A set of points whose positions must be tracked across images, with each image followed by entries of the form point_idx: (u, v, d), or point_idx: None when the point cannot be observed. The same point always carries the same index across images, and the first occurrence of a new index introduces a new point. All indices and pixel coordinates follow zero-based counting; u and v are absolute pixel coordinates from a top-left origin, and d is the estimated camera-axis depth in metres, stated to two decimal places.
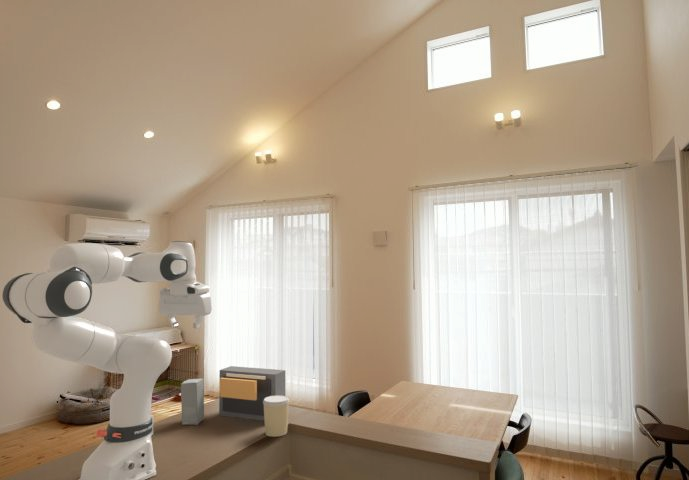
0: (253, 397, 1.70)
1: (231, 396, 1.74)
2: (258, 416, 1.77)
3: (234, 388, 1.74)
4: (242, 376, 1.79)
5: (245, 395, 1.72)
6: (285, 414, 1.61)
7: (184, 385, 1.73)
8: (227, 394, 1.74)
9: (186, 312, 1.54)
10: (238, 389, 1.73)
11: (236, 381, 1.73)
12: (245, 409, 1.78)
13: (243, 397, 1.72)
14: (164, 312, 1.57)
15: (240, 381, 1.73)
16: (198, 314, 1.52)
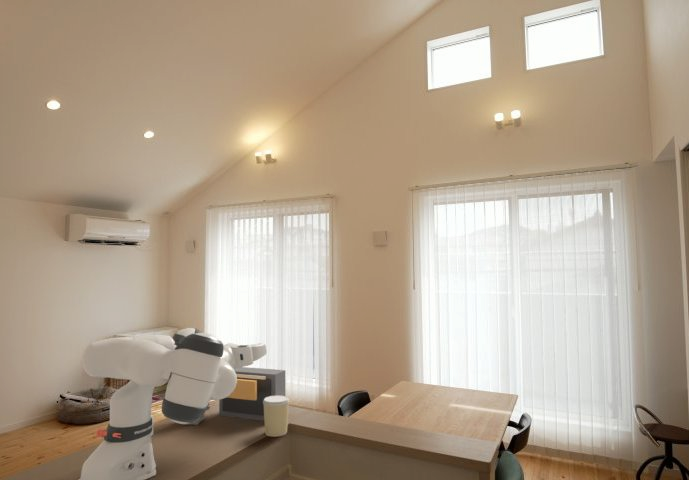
0: (253, 397, 1.70)
1: (231, 396, 1.74)
2: (258, 416, 1.77)
3: None
4: (242, 376, 1.79)
5: (245, 395, 1.72)
6: (285, 414, 1.61)
7: None
8: None
9: None
10: (238, 389, 1.73)
11: None
12: (245, 409, 1.78)
13: (243, 397, 1.72)
14: None
15: (240, 381, 1.73)
16: None
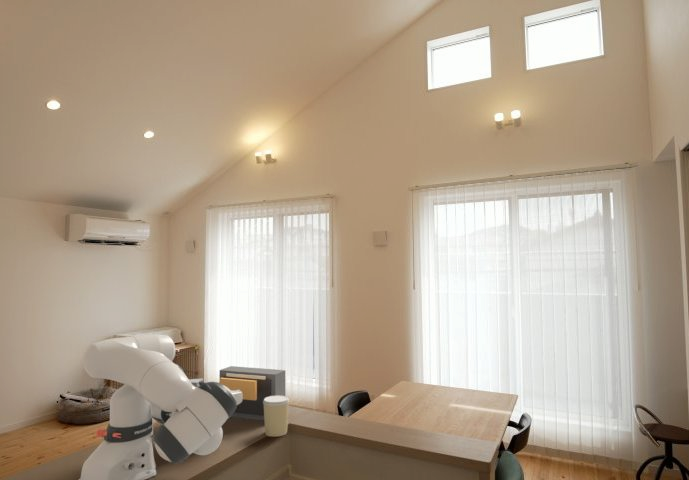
0: (253, 397, 1.70)
1: None
2: (258, 416, 1.77)
3: (234, 388, 1.74)
4: (242, 376, 1.79)
5: (245, 395, 1.72)
6: (285, 414, 1.61)
7: None
8: None
9: None
10: (238, 389, 1.73)
11: (236, 381, 1.73)
12: (245, 409, 1.78)
13: (243, 397, 1.72)
14: None
15: (240, 381, 1.73)
16: None
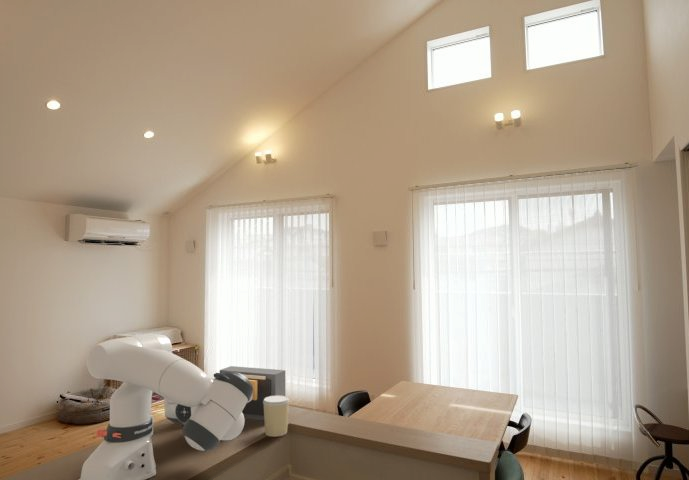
0: (253, 397, 1.71)
1: None
2: (258, 416, 1.77)
3: None
4: None
5: None
6: (285, 414, 1.61)
7: None
8: None
9: None
10: None
11: None
12: (245, 409, 1.78)
13: None
14: None
15: None
16: None
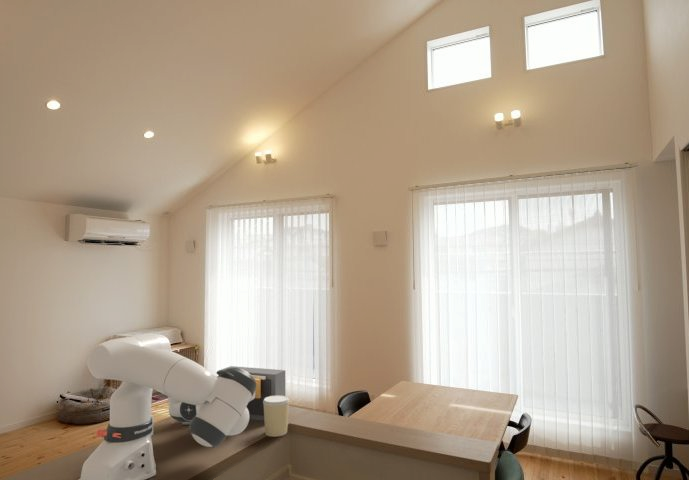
0: (256, 395, 1.73)
1: None
2: (258, 416, 1.77)
3: None
4: None
5: None
6: (285, 414, 1.61)
7: None
8: None
9: None
10: None
11: None
12: None
13: None
14: None
15: None
16: None
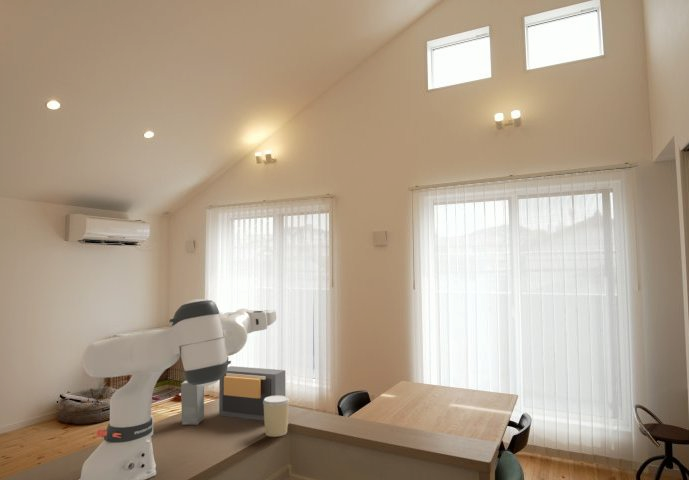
0: (256, 395, 1.73)
1: (235, 394, 1.76)
2: (258, 416, 1.77)
3: (238, 386, 1.76)
4: (242, 376, 1.79)
5: (249, 393, 1.74)
6: (285, 414, 1.61)
7: (184, 385, 1.73)
8: (231, 392, 1.77)
9: None
10: (242, 387, 1.75)
11: (240, 379, 1.76)
12: (245, 409, 1.78)
13: (247, 396, 1.74)
14: None
15: (244, 379, 1.75)
16: None
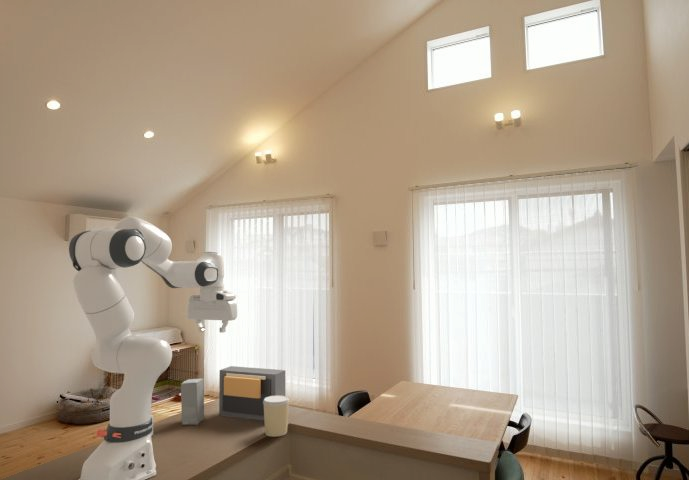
0: (256, 395, 1.73)
1: (235, 394, 1.76)
2: (258, 416, 1.77)
3: (238, 386, 1.76)
4: (242, 376, 1.79)
5: (249, 393, 1.74)
6: (285, 414, 1.61)
7: (184, 385, 1.73)
8: (231, 392, 1.77)
9: (214, 317, 1.68)
10: (242, 387, 1.75)
11: (240, 379, 1.76)
12: (245, 409, 1.78)
13: (247, 396, 1.74)
14: (193, 317, 1.71)
15: (244, 379, 1.75)
16: (225, 319, 1.66)
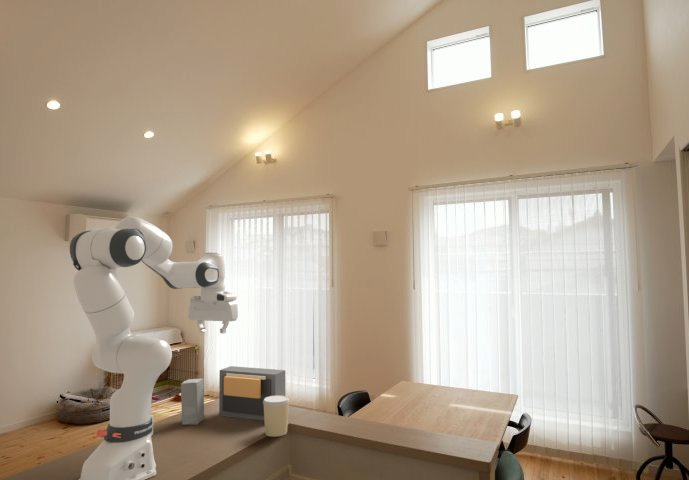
0: (256, 395, 1.73)
1: (235, 394, 1.76)
2: (258, 416, 1.77)
3: (238, 386, 1.76)
4: (242, 376, 1.79)
5: (249, 393, 1.74)
6: (285, 414, 1.61)
7: (184, 385, 1.73)
8: (231, 392, 1.77)
9: (214, 318, 1.68)
10: (242, 387, 1.75)
11: (240, 379, 1.76)
12: (245, 409, 1.78)
13: (247, 396, 1.74)
14: (193, 318, 1.71)
15: (244, 379, 1.75)
16: (225, 320, 1.66)
